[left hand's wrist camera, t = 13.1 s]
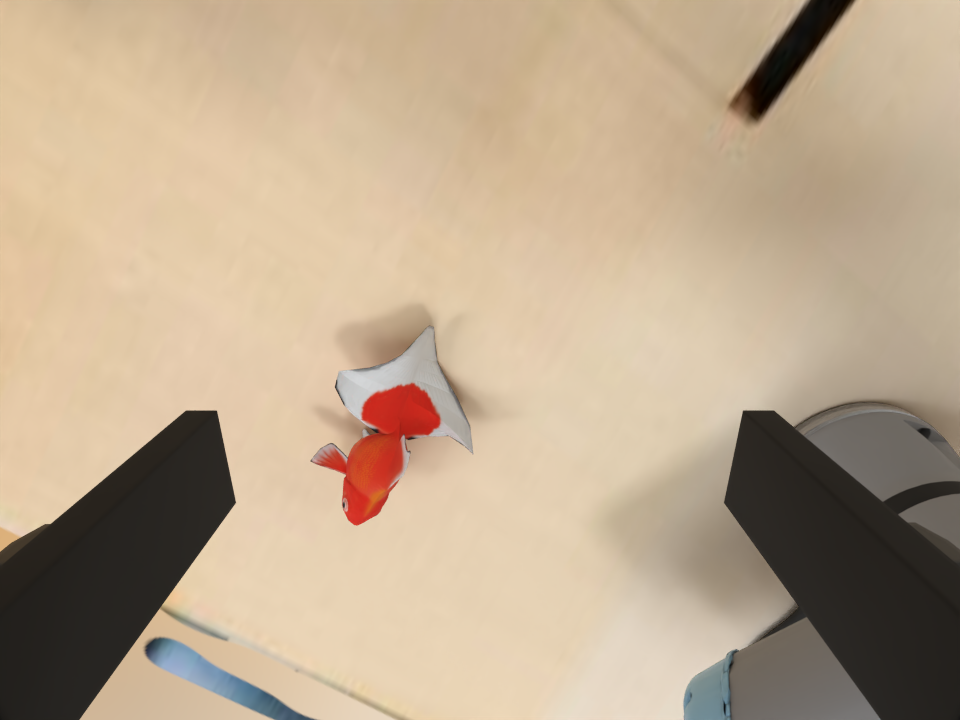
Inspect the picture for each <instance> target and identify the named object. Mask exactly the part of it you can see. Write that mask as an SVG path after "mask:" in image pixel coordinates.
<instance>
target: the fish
mask: <svg viewBox="0 0 960 720" xmlns="http://www.w3.org/2000/svg"><path fill="white" fill-rule="evenodd" d="M335 388H336V390H337V392H338V394H339V396H340V398H341V400H342V402H343V404H344V405H345V407H346V408H347V409H348V410H349V411H350V412H351V413H352V414H353V415H354V416H355V417H356V418H358V419H359V420H360V421H361V422H363V423H364V424H365V425H367V426H368V427H369V428H371V429H372V430H373V431H375V432H376V433H378V434H372V435H370V434H369V433H368V432H367V431H366V430H365V429H363V431H362V433H363V438H362V439H361V440H359V441H358V442H357V443H356V444H355V445H354V446H353V448H352V449H351V451H350V454H349V456H348V458H347V457H346V455H345V454H344V453H343V452H342V451H341V450H340V449H339V448H338V447H337V446H336V445H334V444H333V443H330V444H328V445H326V446H324V447H322V448H321V449H320V450H319V451H318V452H317V453H316V454H315V456H314V457H313V458H312V460H311V462H313V463H315V464H317V465H320V466H323V467H326V468H329V469H333V470H336V471H338V472H341V473H343V474H346V477H345V478H344V484H343V498H342V506H343V510H344V512H345V514H346V516H347V518H348V520H349V521H350V522H351V523H352V524H354V525H356V526H357V525H359V524H362V523H364V522H365V521H367V520H369V519H370V518H372V517H374V516H376V515H377V514H379V512H380V511H381V509H382V506H383V505H384V504H385V502H386V500H387V498H388V495H389V492H390V491H391V490H392V489H393V488H394V487H395V485H396V484H397V483H398V481H399V479H400V478H401V477H402V476H403V475H404V473H405V471H406V468H407V466H408V461H409V457H410V451H407V446H406V442H405V439H408V440H411V439H416V438H421V437H426V436H450V437H451V438H453V439H454V440H456V441H458V442H459V443H461V444H462V445H464V446H465V447H466V448H467V449H468V450H469V451H470V452H471V453H472V454H473V447H472V439H471V430H470V425H469V422H468V420H467V418H466V416H465V414H464V412H463V410H462V407H461V405H460V403H459V401H458V399H457V397H456V395H455V393H454V392H453V390H452V388H451V386H450V385H449V383H448V381H447V379H446V378H445V376H444V374H443V372H442V370H441V368H440V366H439V364H438V362H437V354H436V346H435V339H434V327H432V326H428V327H427V328H426V329H425V330H424V331H423V332H422V334H421V335H420V336H419V337H418V338H417V339H416V340H415V341H414V342H413V343H412V344H411V345H410V347H409V348H408V349H407V350H406V351H405V352H404V353H403V354H402V355H401V356H399V357H397V358H395V359H393V360H391V361H389V362H387V363H384V364H381V365H377V366H374V367H370V368H363V369H354V370H346V371H339V373H338V377H337V381H336V385H335Z"/></svg>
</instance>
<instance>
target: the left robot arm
mask: <svg viewBox="0 0 960 720" xmlns="http://www.w3.org/2000/svg"><path fill="white" fill-rule="evenodd" d="M235 503H236V501H235V496H234V491H233V486H232V481H231V477H230V472H229V467H228V462H227V457H226V452H225V448H224V443H223V438H222V433H221V428H220V423H219V418H218V414H217V411H185V412H184V413H183V414H182V415H180V416H179V417H178V418H177V419H176V420H174V421H173V422H172V423H171V424H170V425H168V426H167V427H166V428H165V429H164V430H162V431H161V432H160V433H159V434H158V435H156V436H155V437H154V438H153V439H152V440H151V441H149V442H148V443H147V444H146V445H145V446H143V447H142V448H141V449H140V450H139V451H137V452H136V453H135V454H134V455H133V456H131V457H130V458H129V459H128V460H127V461H125V462H124V463H123V464H122V465H121V466H119V467H118V468H117V469H116V470H115V471H113V472H112V473H111V474H110V475H109V476H108V477H106V478H105V479H104V480H103V481H102V482H100V483H99V484H98V485H97V486H96V487H94V488H93V489H92V490H91V491H90V492H88V493H87V494H86V495H85V496H84V497H82V498H81V499H80V500H79V501H78V502H76V503H75V504H74V505H73V506H72V507H70V508H69V509H68V510H67V511H66V512H65V513H63V514H62V515H61V516H60V517H59V518H57V519H56V520H55V521H54V522H53V523H51V524H45V525H43V526H41V527H39V528H37V529H36V530H34V531H32V532H30V533H28V534H27V535H25V536H23V537H21V538H19V539H17V540H16V541H14V542H12V543H11V544H9V545H8V546H7V547H6V548H4V549H3V550H2V551H1V552H0V720H79V719H80V718H81V717H82V715H83V714H84V712H85V711H86V710H87V708H88V707H89V705H90V704H91V703H92V701H93V700H94V699H95V697H96V696H97V694H98V693H99V692H100V690H101V689H102V687H103V686H104V685H105V683H106V682H107V681H108V679H109V678H110V676H111V675H112V674H113V672H114V671H115V669H116V668H117V667H118V665H119V664H120V663H121V661H122V660H123V658H124V657H125V656H126V654H127V653H128V651H129V650H130V649H131V647H132V646H133V645H134V643H135V642H136V640H137V639H138V638H139V636H140V635H141V633H142V632H143V631H144V629H145V628H146V626H147V625H148V624H149V622H150V621H151V620H152V618H153V617H154V615H155V614H156V613H157V611H158V610H159V609H160V607H161V606H162V604H163V603H164V602H165V600H166V599H167V597H168V596H169V595H170V593H171V592H172V591H173V589H174V588H175V586H176V585H177V584H178V582H179V581H180V579H181V578H182V577H183V575H184V574H185V573H186V571H187V570H188V568H189V567H190V566H191V564H192V563H193V561H194V560H195V559H196V557H197V556H198V555H199V553H200V552H201V550H202V549H203V548H204V546H205V545H206V543H207V542H208V541H209V539H210V538H211V537H212V535H213V534H214V532H215V531H216V530H217V528H218V527H219V525H220V524H221V523H222V521H223V520H224V518H225V517H226V516H227V514H228V513H229V512H230V510H231V509H232V507H233V506H234V505H235ZM724 503H725V505H726V506H727V507H728V509H729V510H730V512H731V513H732V514H733V516H734V517H735V518H736V520H737V521H738V523H739V524H740V525H741V527H742V528H743V530H744V531H745V532H746V534H747V535H748V537H749V538H750V539H751V541H752V542H753V543H754V545H755V546H756V548H757V549H758V550H759V552H760V553H761V555H762V556H763V557H764V559H765V560H766V561H767V563H768V564H769V566H770V567H771V568H772V570H773V571H774V573H775V574H776V575H777V577H778V578H779V579H780V581H781V582H782V584H783V585H784V586H785V588H786V589H787V591H788V592H789V593H790V595H791V596H792V597H793V599H794V600H795V602H796V603H797V604H798V606H799V607H798V609H797V610H796V611H795V612H794V613H793V614H792V615H791V616H790V617H789V618H788V619H786V620H785V621H784V622H783V623H781V624H780V625H779V626H777V627H776V628H775V629H773V630H772V631H771V632H769V633H768V634H767V635H765V636H764V637H763V638H762V639H761V640H760V641H758V642H756V643H754V644H752V645H750V646H748V647H746V648H744V649H742V650H740V651H739V650H737V649H735V650H732V651H730V652H729V653H728V654H727V655H726V658H725V659H723V660H721V661H719V662H718V663H716V664H714V665H713V666H711V667H709V668H708V669H706V670H704V671H702V672H701V673H699V674H697V675H696V676H695V677H694V678H693V679H692V680H691V681H690V683H689V684H688V686H687V688H686V691H685V696H684V720H960V457H959V456H958V455H957V453H956V452H955V451H954V450H953V448H952V447H951V446H950V445H949V443H948V442H947V441H946V440H945V439H944V437H943V436H942V435H941V434H940V433H939V432H938V431H937V430H936V429H935V428H934V427H932V426H931V425H930V424H928V423H927V422H925V421H923V420H921V419H920V418H918V417H916V416H915V415H913V414H911V413H909V412H908V411H906V410H903V409H901V408H899V407H896V406H892V405H888V404H883V403H855V404H849V405H844V406H840V407H836V408H833V409H830V410H827V411H825V412H822V413H820V414H818V415H816V416H814V417H812V418H810V419H808V420H807V421H805V422H803V423H802V424H800V425H799V426H797V427H796V428H794V427H793V426H792V425H790V424H789V423H788V422H787V421H786V420H784V419H783V418H782V417H781V416H780V415H778V414H777V413H776V412H775V411H743V414H742V418H741V423H740V428H739V433H738V438H737V443H736V448H735V452H734V457H733V462H732V467H731V472H730V477H729V481H728V486H727V491H726V496H725V501H724Z"/></svg>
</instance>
